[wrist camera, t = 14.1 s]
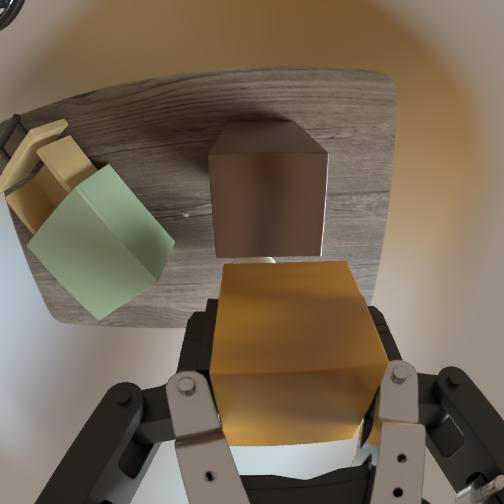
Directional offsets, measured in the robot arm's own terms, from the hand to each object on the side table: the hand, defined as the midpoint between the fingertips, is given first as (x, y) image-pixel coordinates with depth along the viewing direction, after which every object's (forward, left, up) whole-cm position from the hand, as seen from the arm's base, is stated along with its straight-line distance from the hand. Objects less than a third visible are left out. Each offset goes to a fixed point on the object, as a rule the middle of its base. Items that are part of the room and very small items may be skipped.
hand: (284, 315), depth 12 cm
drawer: (-25, -13, -28) cm, 40 cm away
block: (0, 0, 0) cm, 0 cm away
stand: (0, 0, -29) cm, 29 cm away
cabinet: (-14, -19, -29) cm, 37 cm away
